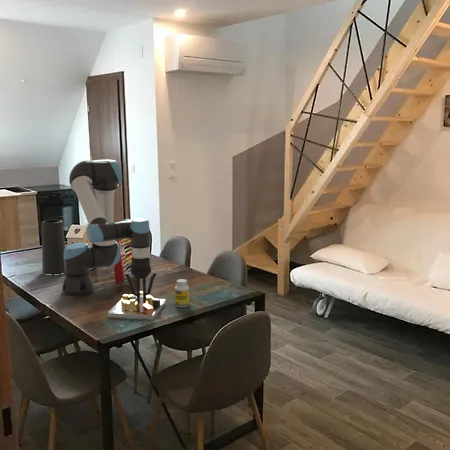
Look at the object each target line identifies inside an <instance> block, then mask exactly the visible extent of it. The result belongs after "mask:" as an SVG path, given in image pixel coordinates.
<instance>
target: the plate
mask: <svg viewBox="0 0 450 450" xmlns="http://www.w3.org/2000/svg"><path fill="white" fill-rule="evenodd" d="M153 298H154V299H152V303H153V306H152V307H153V315H147V314H146V313H144V312H140V311H138V310H137V311H132V310H127V309H126V310H125V309H124V308H122V307H121V299H120V300H118V301H117V303H116V304H115V305H114V306H113V307H111V309H110V310H109V311H108V312H107V318H117V319H118V318H119V319H132V320H133V319H135V320H150V321H153V320H155V318H156V317H157V316H158V314H159V312H160V311H161V310H162V309H163V307H164V306H165V305H166V299H165V298H155V297H153ZM131 299H134V300H135V302H137V296H132V297H131Z"/></svg>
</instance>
